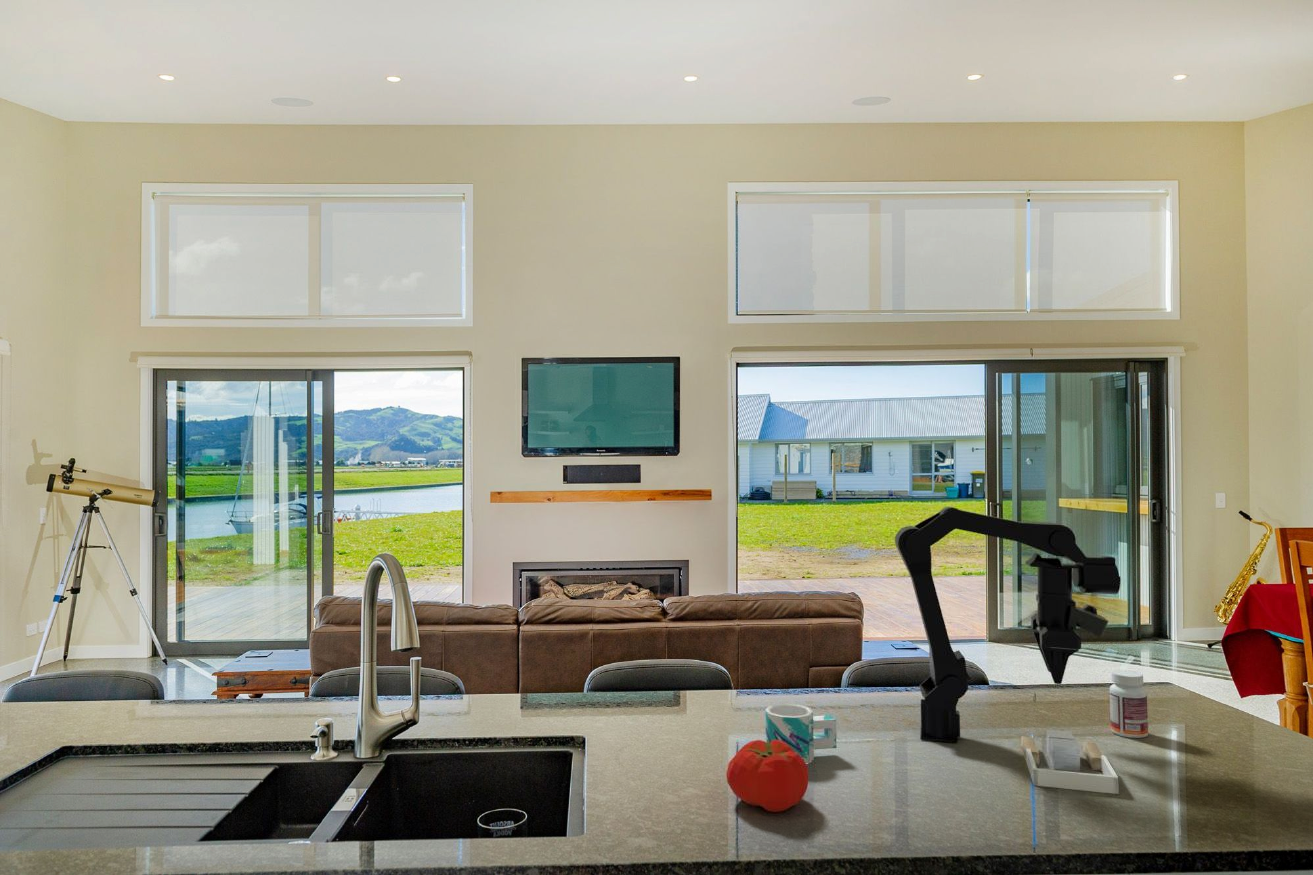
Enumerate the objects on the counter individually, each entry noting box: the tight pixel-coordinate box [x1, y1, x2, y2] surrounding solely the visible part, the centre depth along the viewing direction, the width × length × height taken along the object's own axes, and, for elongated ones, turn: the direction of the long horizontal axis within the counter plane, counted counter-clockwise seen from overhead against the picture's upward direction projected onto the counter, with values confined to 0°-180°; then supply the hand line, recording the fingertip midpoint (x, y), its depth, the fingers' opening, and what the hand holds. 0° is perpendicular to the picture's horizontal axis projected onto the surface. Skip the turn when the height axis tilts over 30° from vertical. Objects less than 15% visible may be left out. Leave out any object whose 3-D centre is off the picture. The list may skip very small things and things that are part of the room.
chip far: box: [1045, 729, 1076, 760], centre depth 143 cm, size 4×4×4 cm
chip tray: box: [1025, 748, 1120, 795], centre depth 134 cm, size 12×10×2 cm
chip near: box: [1049, 738, 1081, 773], centre depth 139 cm, size 4×4×4 cm
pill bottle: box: [1109, 669, 1149, 739], centre depth 155 cm, size 6×6×11 cm
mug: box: [765, 703, 837, 764], centre depth 144 cm, size 8×12×8 cm
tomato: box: [725, 739, 809, 813], centre depth 125 cm, size 13×12×8 cm
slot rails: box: [1020, 735, 1103, 771], centre depth 142 cm, size 12×8×2 cm, turn 72°
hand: (1054, 677), depth 151 cm, fingers open, 8 cm apart
